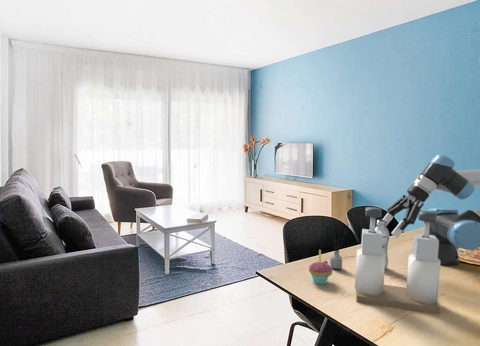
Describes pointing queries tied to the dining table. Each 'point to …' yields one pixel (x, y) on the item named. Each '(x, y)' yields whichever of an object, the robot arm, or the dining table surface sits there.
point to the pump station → (418, 276)
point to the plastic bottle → (384, 237)
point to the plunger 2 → (427, 221)
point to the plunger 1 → (373, 216)
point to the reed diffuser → (336, 253)
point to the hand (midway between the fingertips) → (387, 231)
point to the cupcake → (320, 271)
